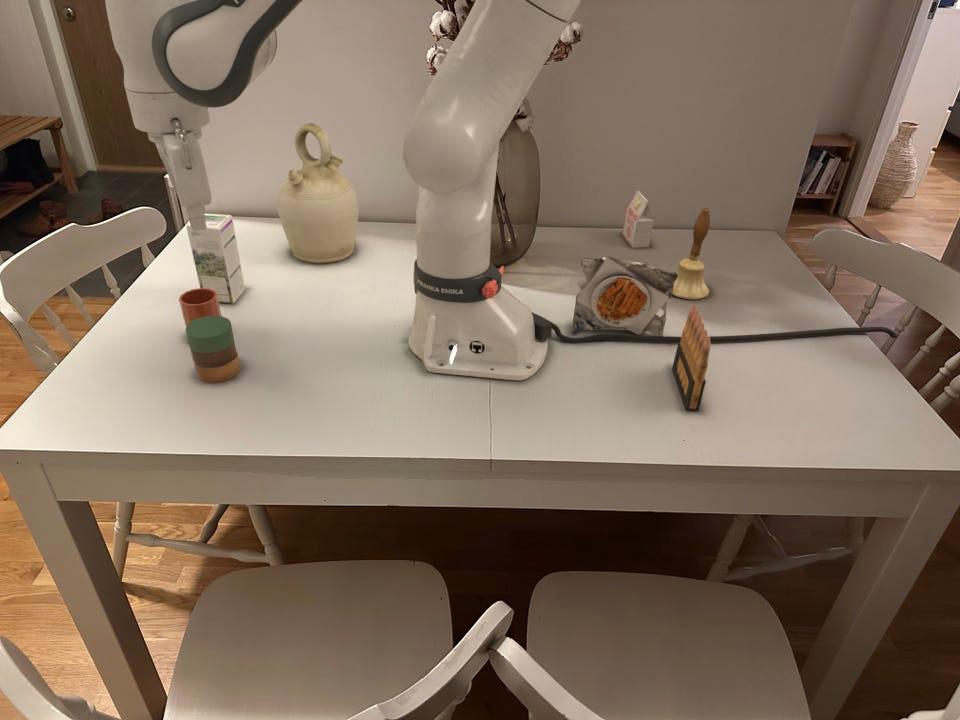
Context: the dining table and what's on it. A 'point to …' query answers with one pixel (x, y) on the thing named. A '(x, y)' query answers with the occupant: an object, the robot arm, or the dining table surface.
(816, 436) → the dining table surface
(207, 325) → the green chip
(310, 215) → the jug
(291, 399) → the dining table surface
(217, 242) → the syrup box
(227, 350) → the walnut chip
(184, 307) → the cup
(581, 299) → the meal
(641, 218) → the white carton
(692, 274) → the hand bell
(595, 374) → the dining table surface
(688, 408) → the ammunition clip
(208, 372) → the oak chip
